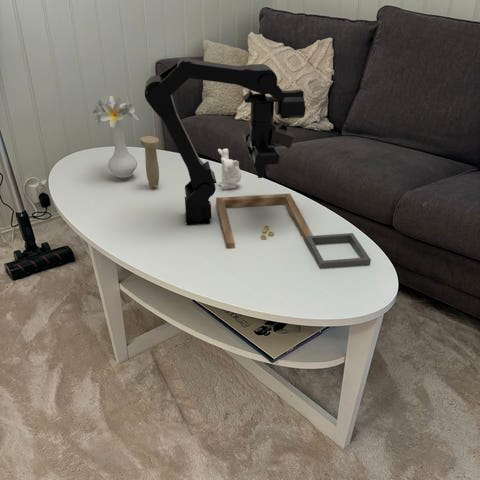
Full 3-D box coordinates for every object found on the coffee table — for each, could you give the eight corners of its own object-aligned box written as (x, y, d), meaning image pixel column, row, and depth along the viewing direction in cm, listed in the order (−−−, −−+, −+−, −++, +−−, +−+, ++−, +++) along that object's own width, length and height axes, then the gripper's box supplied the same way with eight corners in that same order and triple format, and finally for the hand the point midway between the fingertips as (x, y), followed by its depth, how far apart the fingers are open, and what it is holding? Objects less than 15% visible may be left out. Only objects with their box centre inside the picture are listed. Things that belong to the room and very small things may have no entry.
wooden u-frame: (226, 252, 116) (226, 243, 114) (216, 205, 137) (216, 197, 135) (313, 245, 119) (314, 237, 117) (289, 201, 140) (290, 193, 138)
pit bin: (319, 274, 108) (320, 263, 107) (305, 246, 118) (306, 236, 117) (368, 270, 110) (370, 259, 108) (351, 243, 120) (352, 233, 118)
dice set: (266, 231, 126) (267, 225, 125) (278, 239, 122) (278, 233, 121) (251, 236, 123) (251, 230, 122) (262, 245, 120) (262, 238, 119)
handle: (151, 190, 144) (147, 144, 136) (142, 183, 149) (137, 138, 141) (165, 187, 147) (161, 140, 139) (156, 180, 151) (151, 134, 143)
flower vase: (130, 160, 165) (122, 87, 151) (151, 179, 151) (143, 101, 138) (94, 168, 159) (81, 93, 146) (112, 188, 145) (100, 107, 132)
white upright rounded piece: (211, 185, 148) (210, 149, 142) (228, 179, 152) (228, 144, 146) (228, 194, 143) (228, 157, 136) (245, 188, 146) (245, 152, 140)
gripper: (303, 130, 110) (297, 190, 118) (284, 107, 126) (281, 162, 134) (256, 131, 109) (254, 192, 117) (243, 108, 124) (242, 163, 132)
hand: (259, 176), depth 125 cm, fingers closed
